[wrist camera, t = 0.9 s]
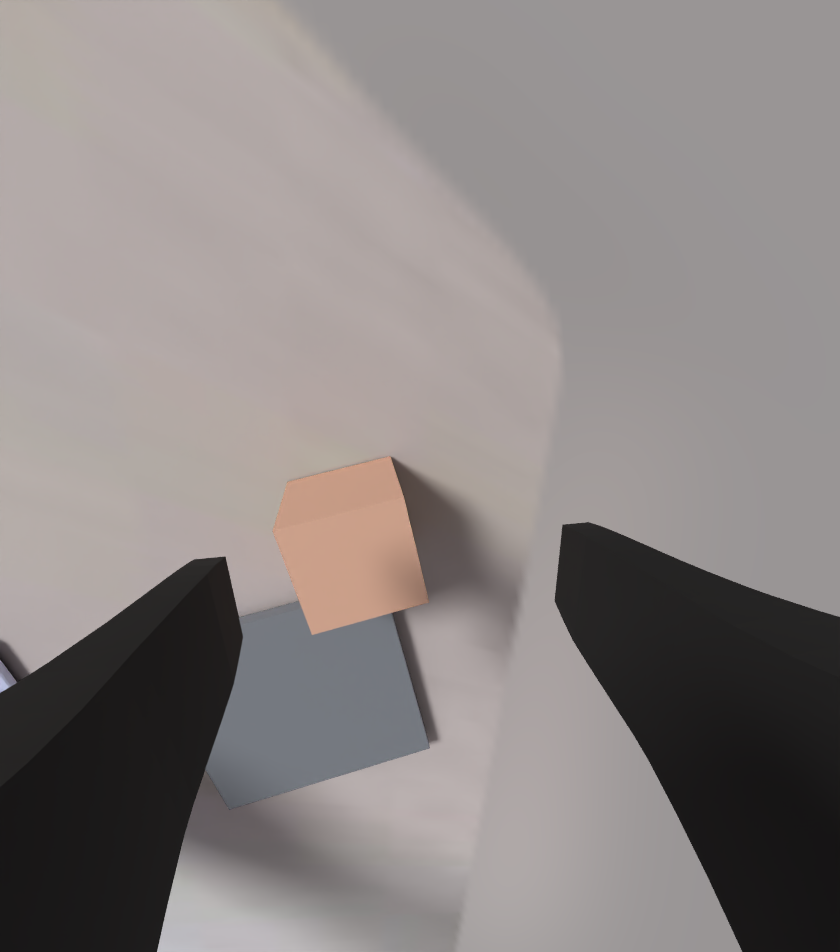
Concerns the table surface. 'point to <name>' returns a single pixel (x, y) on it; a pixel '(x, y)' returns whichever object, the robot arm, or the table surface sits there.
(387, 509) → the cube
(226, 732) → the mat
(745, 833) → the robot arm
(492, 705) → the table surface
